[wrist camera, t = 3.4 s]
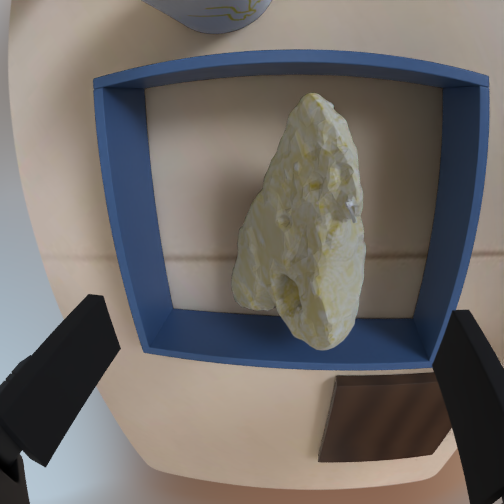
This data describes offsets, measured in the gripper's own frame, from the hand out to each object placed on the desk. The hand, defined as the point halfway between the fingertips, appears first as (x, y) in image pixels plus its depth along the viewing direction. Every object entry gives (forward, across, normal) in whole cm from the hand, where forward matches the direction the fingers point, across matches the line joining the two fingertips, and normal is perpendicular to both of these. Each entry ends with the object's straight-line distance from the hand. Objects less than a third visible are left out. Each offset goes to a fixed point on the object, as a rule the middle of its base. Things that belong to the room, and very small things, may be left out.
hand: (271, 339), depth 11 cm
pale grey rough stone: (+16, 0, 0) cm, 16 cm away
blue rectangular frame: (+15, 0, 0) cm, 15 cm away
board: (+15, +14, -27) cm, 34 cm away
